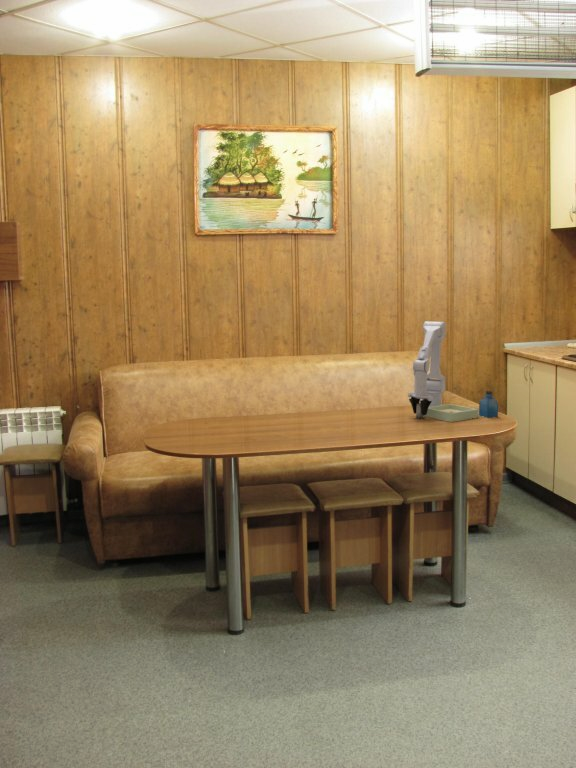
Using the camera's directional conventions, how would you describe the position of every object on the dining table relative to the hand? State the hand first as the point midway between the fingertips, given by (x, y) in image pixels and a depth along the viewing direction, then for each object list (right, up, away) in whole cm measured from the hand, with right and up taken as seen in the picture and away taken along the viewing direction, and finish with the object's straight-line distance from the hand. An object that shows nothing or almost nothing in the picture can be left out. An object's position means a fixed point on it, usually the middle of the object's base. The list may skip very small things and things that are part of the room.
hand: (420, 414), depth 376 cm
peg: (0, -2, 0) cm, 2 cm away
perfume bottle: (+33, -1, +5) cm, 34 cm away
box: (+15, -1, +3) cm, 15 cm away
